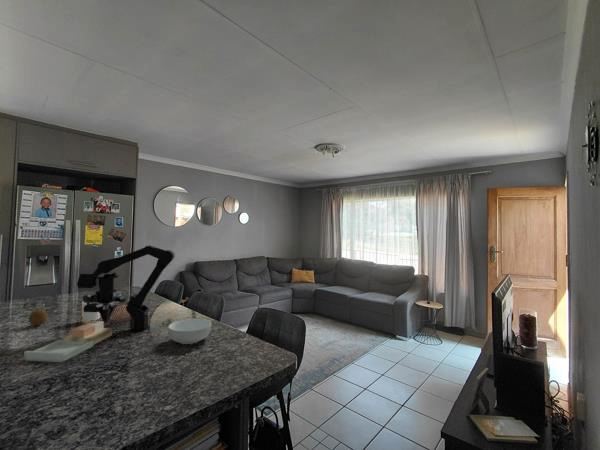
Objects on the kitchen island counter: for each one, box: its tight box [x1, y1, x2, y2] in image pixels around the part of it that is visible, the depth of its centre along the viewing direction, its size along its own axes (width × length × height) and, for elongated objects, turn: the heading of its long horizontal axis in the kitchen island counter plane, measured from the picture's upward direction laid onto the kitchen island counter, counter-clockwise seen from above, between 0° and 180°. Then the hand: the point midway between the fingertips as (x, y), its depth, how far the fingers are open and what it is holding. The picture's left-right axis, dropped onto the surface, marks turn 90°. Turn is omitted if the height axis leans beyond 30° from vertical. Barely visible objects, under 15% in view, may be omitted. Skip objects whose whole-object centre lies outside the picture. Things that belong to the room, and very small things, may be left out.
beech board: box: [61, 327, 113, 345], centre depth 120 cm, size 12×12×3 cm
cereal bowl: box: [167, 318, 212, 345], centre depth 121 cm, size 17×17×7 cm
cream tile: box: [83, 320, 105, 333], centre depth 123 cm, size 5×5×3 cm
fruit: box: [28, 308, 48, 327], centre depth 135 cm, size 6×6×8 cm
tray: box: [23, 339, 95, 363], centre depth 107 cm, size 14×14×3 cm
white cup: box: [81, 301, 101, 324], centre depth 143 cm, size 8×8×10 cm
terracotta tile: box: [71, 324, 94, 337], centre depth 117 cm, size 5×5×3 cm
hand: (105, 322), depth 130 cm, fingers closed
